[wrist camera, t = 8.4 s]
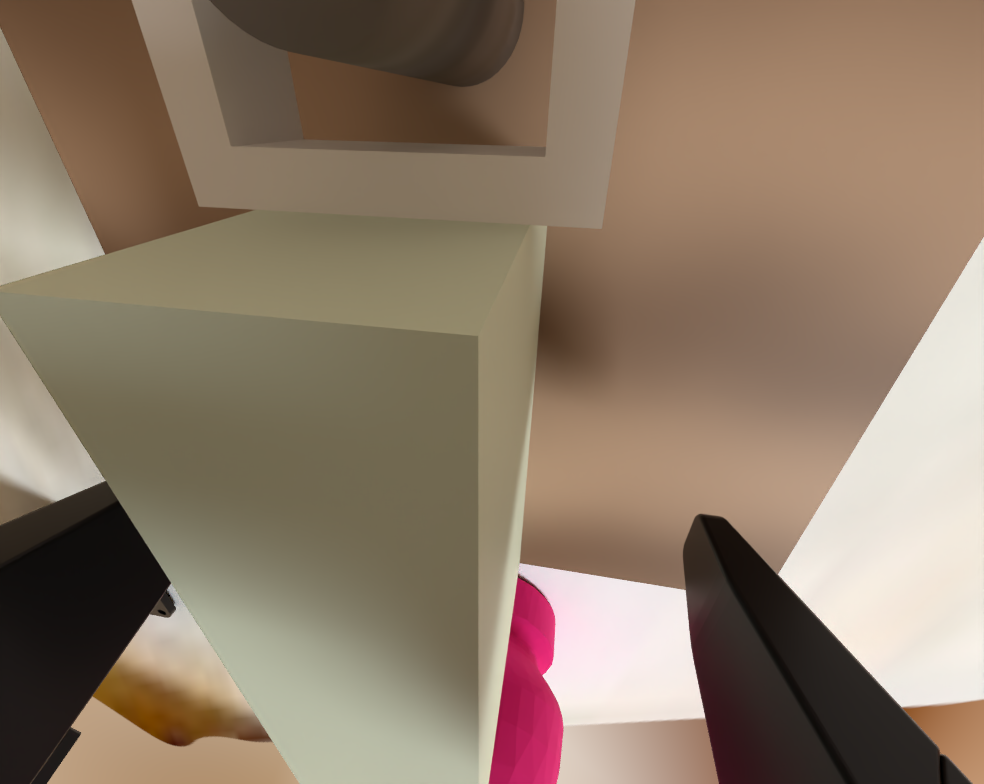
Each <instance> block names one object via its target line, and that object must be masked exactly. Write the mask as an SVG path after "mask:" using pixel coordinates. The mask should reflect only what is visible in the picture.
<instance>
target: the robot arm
mask: <svg viewBox="0 0 984 784" xmlns="http://www.w3.org/2000/svg"><path fill="white" fill-rule="evenodd" d="M683 565H684V576H685V587H686V598H687V608H688V619H689V630H690V639H691V648H692V653H693V659H694V665H695V669H696V674H697V679H698V684H699V689H700V694H701V699H702V703H703V708H704V713H705V718H706V723H707V727H708V733H709V737H710V742H711V747H712V751H713V757H714V762H715V766H716V771H717V776H718V781H719V784H972V782H971V781H970V780H969V779H968V778H967V777H966V776H965V775H964V774H963V773H962V772H961V771H960V769H959V768H958V767H957V766H956V765H955V764H954V763H953V762H952V761H951V760H950V759H949V758H948V757H947V756H946V755H943V754H940V750H939V748H938V746H937V745H936V744H935V743H934V742H933V741H932V740H931V739H930V738H929V737H928V735H927V734H926V733H925V732H924V731H923V730H922V729H921V728H920V727H919V726H918V725H917V724H916V722H915V721H914V720H913V719H912V718H911V717H910V716H909V715H908V714H907V713H906V712H905V711H904V710H903V709H902V707H901V706H900V705H899V704H898V703H897V702H896V701H895V700H894V699H893V698H892V697H891V696H890V695H889V693H888V692H887V691H886V690H885V689H884V688H883V687H882V686H881V685H880V684H879V683H878V682H877V681H876V679H875V678H874V677H873V676H872V675H871V674H870V673H869V672H868V671H867V670H866V669H865V668H864V667H863V666H862V664H861V663H860V662H859V661H858V660H857V659H856V658H855V657H854V656H853V655H852V654H851V653H850V652H849V650H848V649H847V648H846V647H845V646H844V645H843V644H842V643H841V642H840V641H839V640H838V639H837V638H836V637H835V635H834V634H833V633H832V632H831V631H830V630H829V629H828V628H827V627H826V626H825V625H824V624H823V623H822V621H821V620H820V619H819V618H818V617H817V616H816V615H815V614H814V613H813V612H812V611H811V610H810V609H809V608H808V606H807V605H806V604H805V603H804V602H803V601H802V600H801V599H800V598H799V597H798V596H797V595H796V594H795V592H794V591H793V590H792V589H791V588H790V587H789V586H788V585H787V584H786V583H785V582H784V581H783V580H782V578H781V577H780V576H779V575H778V574H777V573H776V572H775V571H774V570H773V569H772V568H771V567H770V566H769V565H768V563H767V562H766V561H765V560H764V559H763V558H762V557H761V556H760V555H759V554H758V553H757V552H756V551H755V549H754V548H753V547H752V546H751V545H750V544H749V543H748V542H747V541H746V540H745V539H744V538H743V537H742V536H741V534H740V533H739V532H738V531H737V530H736V529H735V528H734V527H733V526H732V525H731V524H730V523H729V522H728V521H727V520H726V519H725V518H723V517H721V516H716V515H708V514H698V515H697V516H696V517H695V518H694V520H693V523H692V525H691V528H690V530H689V533H688V535H687V538H686V540H685V543H684V547H683ZM170 584H171V582H170V580H169V579H168V577H167V576H166V574H165V572H164V571H163V569H162V568H161V566H160V565H159V563H158V561H157V560H156V558H155V557H154V555H153V554H152V552H151V551H150V549H149V547H148V546H147V544H146V543H145V541H144V540H143V538H142V536H141V535H140V533H139V532H138V530H137V529H136V527H135V526H134V524H133V522H132V521H131V519H130V518H129V516H128V515H127V513H126V511H125V510H124V508H123V507H122V505H121V504H120V502H119V500H118V499H117V497H116V496H115V494H114V493H113V491H112V490H111V488H110V486H109V485H108V483H107V482H106V481H104V482H102V483H100V484H97V485H95V486H93V487H90V488H88V489H85V490H83V491H81V492H78V493H76V494H74V495H71V496H69V497H66V498H64V499H62V500H59V501H57V502H55V503H52V504H50V505H47V506H45V507H43V508H40V509H38V510H36V511H33V512H31V513H28V514H26V515H24V516H21V517H19V518H17V519H14V520H12V521H9V522H7V523H5V524H2V525H0V784H47V782H48V781H49V779H50V778H51V776H52V775H53V774H54V772H55V771H56V769H57V768H58V766H59V765H60V764H61V762H62V761H63V759H64V758H65V756H66V755H67V753H68V752H69V751H70V749H71V748H72V746H73V745H74V743H75V742H76V740H77V739H78V737H79V736H80V734H81V732H79V731H77V730H75V729H73V728H71V726H72V724H73V723H74V721H75V720H76V718H77V717H78V716H79V714H80V713H81V711H82V710H83V709H84V707H85V706H86V704H87V703H88V701H89V700H90V699H91V697H92V696H93V694H94V693H95V691H96V690H97V689H98V687H99V686H100V684H101V683H102V681H103V680H104V679H105V677H106V676H107V674H108V673H109V671H110V670H111V669H112V667H113V666H114V664H115V663H116V661H117V660H118V659H119V657H120V656H121V654H122V653H123V652H124V650H125V649H126V647H127V646H128V644H129V643H130V642H131V640H132V639H133V637H134V636H135V634H136V633H137V632H138V630H139V629H140V627H141V626H142V624H143V623H144V622H145V620H146V619H147V617H148V616H149V614H151V615H156V616H161V617H170V616H171V615H172V614H173V613H174V612H175V610H176V607H175V606H174V604H173V603H172V601H171V600H170V598H169V597H168V595H167V594H166V590H167V589H168V587H169V586H170Z"/></svg>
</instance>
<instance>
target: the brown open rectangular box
mask: <svg viewBox="0 0 984 784" xmlns="http://www.w3.org/2000/svg"><path fill="white" fill-rule="evenodd" d="M210 1H211V2H212V4H213V5H214V6H215V7H216V8H217V9H219V10H220V11H221V12H222V13H223V14H224V15H225V16H226V17H227V18H228V19H229V20H230V21H232V22H233V23H234V24H235V25H237V26H238V27H239V28H241V29H242V30H243V31H244V32H246V33H248V34H249V35H251V36H253V37H254V38H256V39H258V40H259V41H261V42H263V43H266V44H268V45H270V46H273V47H275V48H277V49H281V50H285V51H287V53H288V58H289V63H290V69H291V74H292V79H293V85H294V90H295V95H296V100H297V106H298V111H299V116H300V122H301V127H302V132H303V137H304V139H307V140H339V141H371V142H404V143H436V144H469V145H501V146H533V147H546V141H547V127H548V114H549V100H550V86H551V73H552V59H553V46H554V32H555V18H556V5H557V0H210ZM0 27H1V30H2V32H3V34H4V36H5V38H6V40H7V43H8V45H9V47H10V49H11V51H12V53H13V56H14V58H15V60H16V62H17V64H18V66H19V68H20V71H21V73H22V75H23V77H24V79H25V81H26V84H27V86H28V88H29V90H30V92H31V94H32V97H33V99H34V101H35V103H36V105H37V107H38V110H39V112H40V114H41V116H42V118H43V120H44V123H45V125H46V127H47V129H48V131H49V133H50V136H51V138H52V140H53V142H54V144H55V146H56V149H57V151H58V153H59V155H60V157H61V159H62V162H63V164H64V166H65V168H66V170H67V172H68V175H69V177H70V179H71V181H72V183H73V185H74V188H75V190H76V192H77V194H78V196H79V198H80V201H81V203H82V205H83V207H84V209H85V211H86V214H87V216H88V218H89V220H90V222H91V224H92V226H93V229H94V231H95V233H96V235H97V237H98V239H99V242H100V244H101V246H102V248H103V250H104V252H105V255H106V254H109V253H112V252H116V251H119V250H122V249H126V248H129V247H133V246H136V245H139V244H143V243H146V242H149V241H153V240H156V239H159V238H163V237H166V236H170V235H173V234H176V233H180V232H183V231H186V230H190V229H193V228H196V227H200V226H203V225H207V224H210V223H213V222H217V221H220V220H223V219H227V218H230V217H233V216H237V215H240V214H244V213H247V212H250V211H254V210H252V209H234V208H216V207H199V205H198V202H197V199H196V196H195V193H194V190H193V187H192V184H191V181H190V178H189V175H188V172H187V169H186V166H185V163H184V159H183V156H182V153H181V150H180V147H179V144H178V141H177V138H176V135H175V132H174V129H173V126H172V123H171V120H170V117H169V114H168V110H167V107H166V104H165V101H164V98H163V95H162V92H161V89H160V86H159V83H158V80H157V77H156V74H155V71H154V68H153V65H152V61H151V58H150V55H149V52H148V49H147V46H146V43H145V40H144V37H143V34H142V31H141V28H140V25H139V22H138V19H137V15H136V12H135V9H134V6H133V3H132V0H0ZM983 237H984V0H636V1H635V7H634V14H633V21H632V28H631V34H630V41H629V48H628V55H627V62H626V68H625V75H624V82H623V89H622V95H621V102H620V109H619V116H618V123H617V129H616V136H615V143H614V150H613V156H612V163H611V170H610V177H609V184H608V190H607V197H606V204H605V211H604V217H603V224H602V229H594V228H576V227H558V226H547V234H546V247H545V259H544V271H543V283H542V296H541V308H540V320H539V332H538V344H537V357H536V369H535V381H534V393H533V405H532V418H531V430H530V442H529V454H528V467H527V479H526V491H525V503H524V515H523V528H522V540H521V552H520V563H523V564H529V565H535V566H542V567H548V568H554V569H560V570H566V571H572V572H579V573H585V574H591V575H597V576H603V577H610V578H616V579H622V580H628V581H634V582H640V583H647V584H653V585H659V586H665V587H671V588H677V589H684V590H686V587H685V576H684V565H683V547H684V543H685V540H686V538H687V535H688V533H689V530H690V528H691V525H692V523H693V520H694V518H695V517H696V516H697V515H698V514H708V515H716V516H721V517H723V518H725V519H726V520H727V521H728V522H729V523H730V524H731V525H732V526H733V527H734V528H735V529H736V530H737V531H738V532H739V533H740V534H741V536H742V537H743V538H744V539H745V540H746V541H747V542H748V543H749V544H750V545H751V546H752V547H753V548H754V549H755V551H756V552H757V553H758V554H759V555H760V556H761V557H762V558H763V559H764V560H765V561H766V562H767V563H768V565H769V566H770V567H771V568H772V569H773V570H774V571H775V572H776V573H777V574H778V573H779V571H780V570H781V568H782V567H783V565H784V563H785V562H786V560H787V558H788V557H789V555H790V553H791V552H792V550H793V548H794V547H795V545H796V544H797V542H798V540H799V539H800V537H801V535H802V534H803V532H804V530H805V529H806V527H807V526H808V524H809V522H810V521H811V519H812V517H813V516H814V514H815V512H816V511H817V509H818V507H819V506H820V504H821V503H822V501H823V499H824V498H825V496H826V494H827V493H828V491H829V489H830V488H831V486H832V485H833V483H834V481H835V480H836V478H837V476H838V475H839V473H840V471H841V470H842V468H843V466H844V465H845V463H846V462H847V460H848V458H849V457H850V455H851V453H852V452H853V450H854V448H855V447H856V445H857V444H858V442H859V440H860V439H861V437H862V435H863V434H864V432H865V430H866V429H867V427H868V425H869V424H870V422H871V421H872V419H873V417H874V416H875V414H876V412H877V411H878V409H879V407H880V406H881V404H882V403H883V401H884V399H885V398H886V396H887V394H888V393H889V391H890V389H891V388H892V386H893V384H894V383H895V381H896V380H897V378H898V376H899V375H900V373H901V371H902V370H903V368H904V366H905V365H906V363H907V362H908V360H909V358H910V357H911V355H912V353H913V352H914V350H915V348H916V347H917V345H918V343H919V342H920V340H921V339H922V337H923V335H924V334H925V332H926V330H927V329H928V327H929V325H930V324H931V322H932V321H933V319H934V317H935V316H936V314H937V312H938V311H939V309H940V307H941V306H942V304H943V302H944V301H945V299H946V298H947V296H948V294H949V293H950V291H951V289H952V288H953V286H954V284H955V283H956V281H957V280H958V278H959V276H960V275H961V273H962V271H963V270H964V268H965V266H966V265H967V263H968V261H969V260H970V258H971V257H972V255H973V253H974V252H975V250H976V248H977V247H978V245H979V243H980V242H981V240H982V238H983Z"/></svg>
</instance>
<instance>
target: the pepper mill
mask: <svg viewBox="0 0 984 784" xmlns="http://www.w3.org/2000/svg"><path fill="white" fill-rule="evenodd" d="M554 637H555V616H554V613H553V610H552V607H551V606H550V604H549V603H548V601H547V600H546V598H545V597H544V596H543V595H542V594H541V593H540V592H539V591H538V590H536V589H535V588H534V587H533V586H531V585H530V584H528V583H526V582H525V581H523V580H521V579H520V578H517V585H516V592H515V599H514V606H513V613H512V620H511V627H510V635H509V642H508V649H507V656H506V663H505V670H504V677H503V685H502V692H501V699H500V706H499V713H498V720H497V727H496V734H495V742H494V749H493V756H492V763H491V770H490V777H489V784H556V783H557V779H558V774H559V768H560V759H561V748H562V738H563V720H562V715H561V711H560V708H559V705H558V702H557V700H556V698H555V696H554V694H553V693H552V691H551V689H550V687H549V686H548V684H547V683H546V681H545V679H544V678H543V676H542V675H543V674H544V673H546V671H547V670H548V669H549V667H550V666H551V665H552V661H553V656H554Z"/></svg>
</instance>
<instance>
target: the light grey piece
mask: <svg viewBox="0 0 984 784" xmlns="http://www.w3.org/2000/svg"><path fill="white" fill-rule="evenodd" d="M635 1H636V0H557V5H556V18H555V32H554V46H553V59H552V73H551V86H550V100H549V114H548V127H547V141H546V147H533V146H501V145H469V144H436V143H404V142H371V141H339V140H307V139H304V137H303V132H302V127H301V122H300V116H299V111H298V106H297V100H296V95H295V90H294V85H293V79H292V74H291V69H290V63H289V58H288V53H287V51H285V50H281V49H277V48H275V47H273V46H270V45H268V44H266V43H263V42H261V41H259V40H258V39H256V38H254V37H253V36H251V35H249V34H248V33H246V32H244V31H243V30H242V29H241V28H239V27H238V26H237V25H235V24H234V23H233V22H232V21H230V20H229V19H228V18H227V17H226V16H225V15H224V14H223V13H222V12H221V11H220V10H219V9H217V8H216V7H215V6H214V5H213V4H212V2H211V1H210V0H132V3H133V6H134V9H135V12H136V15H137V19H138V22H139V25H140V28H141V31H142V34H143V37H144V40H145V43H146V46H147V49H148V52H149V55H150V58H151V61H152V65H153V68H154V71H155V74H156V77H157V80H158V83H159V86H160V89H161V92H162V95H163V98H164V101H165V104H166V107H167V110H168V114H169V117H170V120H171V123H172V126H173V129H174V132H175V135H176V138H177V141H178V144H179V147H180V150H181V153H182V156H183V159H184V163H185V166H186V169H187V172H188V175H189V178H190V181H191V184H192V187H193V190H194V193H195V196H196V199H197V202H198V205H199V207H216V208H234V209H252V210H254V211H250V212H247V213H244V214H240V215H237V216H233V217H230V218H227V219H223V220H220V221H217V222H213V223H210V224H207V225H203V226H200V227H196V228H193V229H190V230H186V231H183V232H180V233H176V234H173V235H170V236H166V237H163V238H159V239H156V240H153V241H149V242H146V243H143V244H139V245H136V246H133V247H129V248H126V249H122V250H119V251H116V252H112V253H109V254H106V255H102V256H99V257H96V258H92V259H89V260H85V261H82V262H79V263H75V264H72V265H69V266H65V267H62V268H59V269H55V270H52V271H48V272H45V273H42V274H38V275H35V276H32V277H28V278H25V279H22V280H18V281H15V282H12V283H8V284H5V285H1V286H0V316H1V318H2V319H3V321H4V322H5V324H6V325H7V327H8V329H9V330H10V332H11V333H12V335H13V336H14V338H15V339H16V341H17V343H18V344H19V346H20V347H21V349H22V350H23V352H24V354H25V355H26V357H27V358H28V360H29V361H30V363H31V364H32V366H33V368H34V369H35V371H36V372H37V374H38V375H39V377H40V379H41V380H42V382H43V383H44V385H45V386H46V388H47V389H48V391H49V393H50V394H51V396H52V397H53V399H54V400H55V402H56V404H57V405H58V407H59V408H60V410H61V411H62V413H63V415H64V416H65V418H66V419H67V421H68V422H69V424H70V425H71V427H72V429H73V430H74V432H75V433H76V435H77V436H78V438H79V440H80V441H81V443H82V444H83V446H84V447H85V449H86V450H87V452H88V454H89V455H90V457H91V458H92V460H93V461H94V463H95V465H96V466H97V468H98V469H99V471H100V472H101V474H102V475H103V477H104V479H105V480H106V482H107V483H108V485H109V486H110V488H111V490H112V491H113V493H114V494H115V496H116V497H117V499H118V500H119V502H120V504H121V505H122V507H123V508H124V510H125V511H126V513H127V515H128V516H129V518H130V519H131V521H132V522H133V524H134V526H135V527H136V529H137V530H138V532H139V533H140V535H141V536H142V538H143V540H144V541H145V543H146V544H147V546H148V547H149V549H150V551H151V552H152V554H153V555H154V557H155V558H156V560H157V561H158V563H159V565H160V566H161V568H162V569H163V571H164V572H165V574H166V576H167V577H168V579H169V580H170V582H171V583H172V585H173V586H174V588H175V590H176V591H177V593H178V594H179V596H180V597H181V599H182V601H183V602H184V604H185V605H186V607H187V608H188V610H189V612H190V613H191V615H192V616H193V618H194V619H195V621H196V622H197V624H198V626H199V627H200V629H201V630H202V632H203V633H204V635H205V637H206V638H207V640H208V641H209V643H210V644H211V646H212V647H213V649H214V651H215V652H216V654H217V655H218V657H219V658H220V660H221V662H222V663H223V665H224V666H225V668H226V669H227V671H228V672H229V674H230V676H231V677H232V679H233V680H234V682H235V683H236V685H237V687H238V688H239V690H240V691H241V693H242V694H243V696H244V697H245V699H246V701H247V702H248V704H249V705H250V707H251V708H252V710H253V712H254V713H255V715H256V716H257V718H258V719H259V721H260V723H261V724H262V726H263V727H264V729H265V730H266V732H267V733H268V735H269V737H270V738H271V740H272V741H273V743H274V744H275V746H276V748H277V749H278V751H279V752H280V754H281V755H282V757H283V758H284V760H285V761H286V763H287V765H288V766H289V768H290V769H291V771H292V773H293V774H294V775H295V777H296V779H297V780H298V782H299V783H300V784H489V777H490V770H491V763H492V756H493V749H494V742H495V734H496V727H497V720H498V713H499V706H500V699H501V692H502V685H503V677H504V670H505V663H506V656H507V649H508V642H509V635H510V627H511V620H512V613H513V606H514V599H515V592H516V585H517V578H518V570H519V563H520V552H521V540H522V528H523V515H524V503H525V491H526V479H527V467H528V454H529V442H530V430H531V418H532V405H533V393H534V381H535V369H536V357H537V344H538V332H539V320H540V308H541V296H542V283H543V271H544V259H545V247H546V234H547V226H558V227H576V228H594V229H602V224H603V217H604V211H605V204H606V197H607V190H608V184H609V177H610V170H611V163H612V156H613V150H614V143H615V136H616V129H617V123H618V116H619V109H620V102H621V95H622V89H623V82H624V75H625V68H626V62H627V55H628V48H629V41H630V34H631V28H632V21H633V14H634V7H635Z"/></svg>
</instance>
